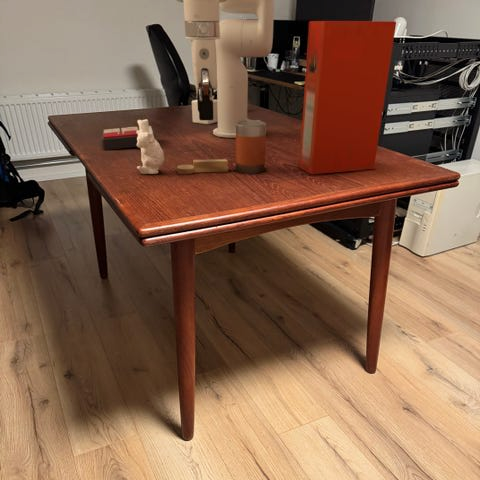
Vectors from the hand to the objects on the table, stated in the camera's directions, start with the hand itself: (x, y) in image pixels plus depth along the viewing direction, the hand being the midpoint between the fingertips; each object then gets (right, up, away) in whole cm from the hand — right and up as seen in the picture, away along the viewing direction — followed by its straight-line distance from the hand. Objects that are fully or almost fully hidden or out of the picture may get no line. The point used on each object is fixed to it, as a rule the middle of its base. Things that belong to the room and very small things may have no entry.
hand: (205, 115), depth 112 cm
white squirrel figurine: (-14, -12, +5) cm, 19 cm away
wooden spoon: (-1, -11, +6) cm, 13 cm away
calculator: (-25, +4, +30) cm, 39 cm away
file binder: (+33, -10, +10) cm, 36 cm away
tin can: (+11, -10, +8) cm, 17 cm away
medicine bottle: (-4, +23, +59) cm, 63 cm away
